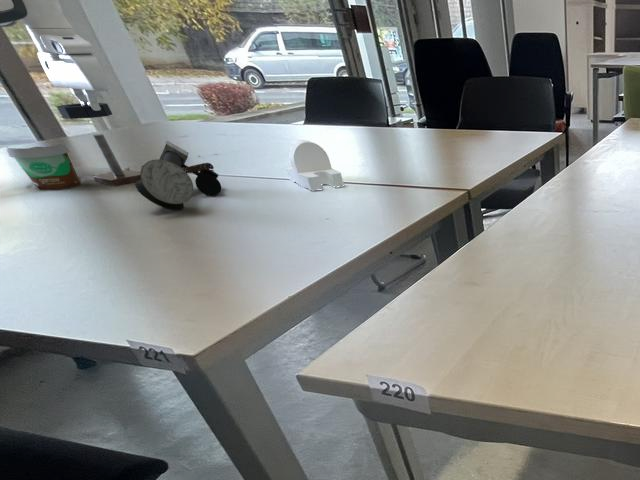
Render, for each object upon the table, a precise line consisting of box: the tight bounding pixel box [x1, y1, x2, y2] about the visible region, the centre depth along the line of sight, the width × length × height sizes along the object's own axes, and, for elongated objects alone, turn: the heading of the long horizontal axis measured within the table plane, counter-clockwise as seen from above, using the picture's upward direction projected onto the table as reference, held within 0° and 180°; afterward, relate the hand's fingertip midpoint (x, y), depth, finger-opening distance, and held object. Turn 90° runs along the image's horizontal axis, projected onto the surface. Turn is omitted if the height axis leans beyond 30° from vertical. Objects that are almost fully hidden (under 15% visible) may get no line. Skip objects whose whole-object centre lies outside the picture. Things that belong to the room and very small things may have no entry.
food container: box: [6, 142, 82, 191], centre depth 136 cm, size 12×6×10 cm, turn 129°
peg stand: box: [92, 133, 141, 186], centre depth 143 cm, size 9×9×12 cm
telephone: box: [134, 140, 222, 212], centre depth 130 cm, size 15×13×30 cm
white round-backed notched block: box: [285, 139, 345, 191], centre depth 146 cm, size 10×18×11 cm, turn 44°
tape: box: [56, 102, 113, 120], centre depth 136 cm, size 10×10×2 cm
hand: (92, 109), depth 135 cm, fingers closed on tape, 2 cm apart
